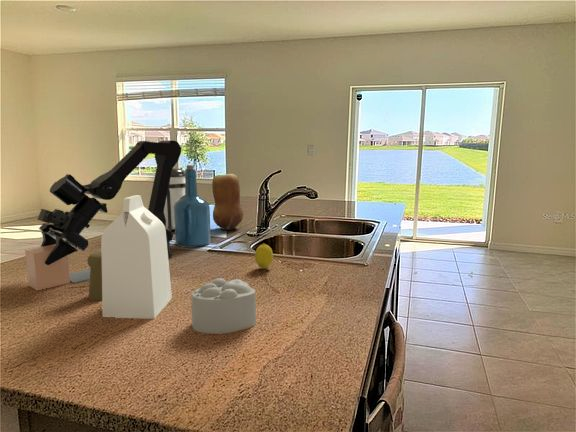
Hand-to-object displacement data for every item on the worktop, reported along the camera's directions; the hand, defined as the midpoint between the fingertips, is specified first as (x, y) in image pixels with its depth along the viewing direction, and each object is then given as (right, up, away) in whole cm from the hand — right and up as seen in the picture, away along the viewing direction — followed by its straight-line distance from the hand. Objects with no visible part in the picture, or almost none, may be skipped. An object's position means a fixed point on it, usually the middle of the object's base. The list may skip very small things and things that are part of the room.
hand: (41, 261), depth 106 cm
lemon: (+58, -4, +17) cm, 61 cm away
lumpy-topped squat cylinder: (+52, -11, -20) cm, 57 cm away
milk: (+31, -9, -13) cm, 35 cm away
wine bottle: (+29, +1, +48) cm, 56 cm away
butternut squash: (+39, +6, +74) cm, 84 cm away
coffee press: (+15, +6, +73) cm, 75 cm away
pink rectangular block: (+1, -6, +2) cm, 7 cm away
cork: (+19, -8, -6) cm, 21 cm away
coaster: (+7, -5, +10) cm, 13 cm away
